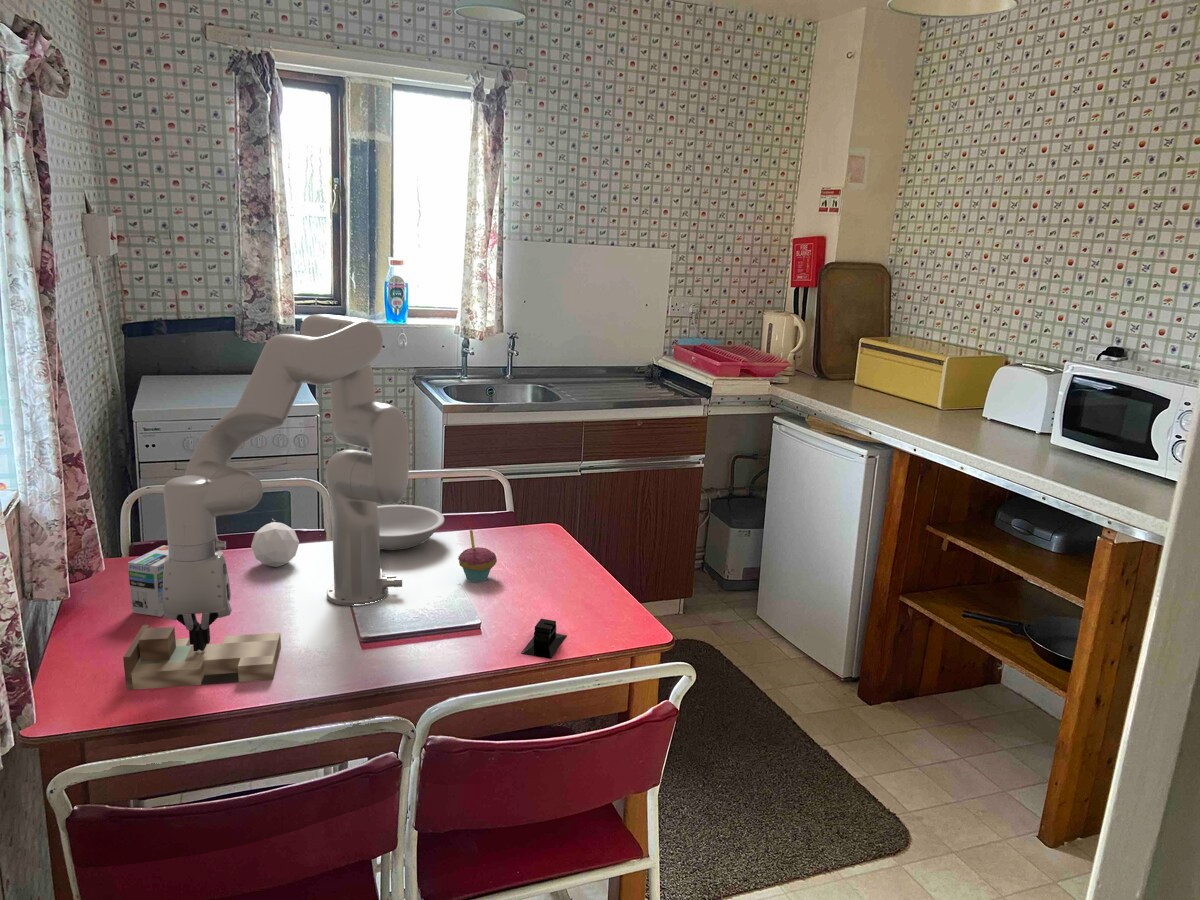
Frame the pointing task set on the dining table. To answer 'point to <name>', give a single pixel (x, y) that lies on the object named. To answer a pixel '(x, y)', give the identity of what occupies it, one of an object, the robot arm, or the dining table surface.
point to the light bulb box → (148, 582)
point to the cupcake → (477, 562)
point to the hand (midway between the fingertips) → (200, 647)
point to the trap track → (205, 662)
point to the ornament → (275, 544)
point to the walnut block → (157, 644)
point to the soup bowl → (407, 525)
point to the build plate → (544, 640)
